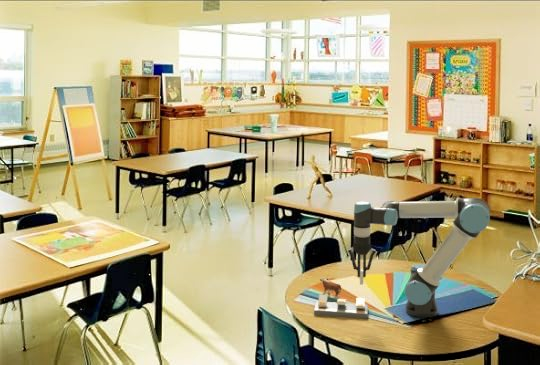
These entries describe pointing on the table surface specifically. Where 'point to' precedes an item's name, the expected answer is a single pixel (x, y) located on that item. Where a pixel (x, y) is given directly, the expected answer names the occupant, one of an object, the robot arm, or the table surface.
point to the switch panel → (341, 310)
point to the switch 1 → (322, 300)
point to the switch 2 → (360, 302)
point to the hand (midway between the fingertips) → (361, 283)
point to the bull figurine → (331, 286)
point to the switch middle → (341, 301)
